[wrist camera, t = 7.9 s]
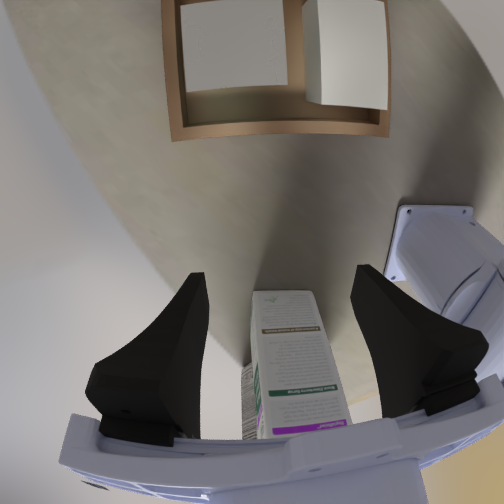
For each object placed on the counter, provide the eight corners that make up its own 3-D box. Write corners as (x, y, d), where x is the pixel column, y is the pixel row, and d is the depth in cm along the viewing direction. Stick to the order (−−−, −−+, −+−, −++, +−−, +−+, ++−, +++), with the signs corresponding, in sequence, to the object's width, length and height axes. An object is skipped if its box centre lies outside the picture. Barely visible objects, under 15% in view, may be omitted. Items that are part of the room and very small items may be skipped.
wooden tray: (370, -3, 12) (385, -11, 10) (373, 130, 18) (388, 137, 16) (170, -7, 12) (160, -17, 10) (179, 135, 18) (171, 141, 16)
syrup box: (251, 289, 26) (260, 446, 14) (314, 288, 26) (356, 434, 14) (249, 331, 29) (256, 467, 17) (305, 329, 29) (332, 459, 17)
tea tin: (269, 24, 14) (282, -2, 9) (272, 86, 16) (287, 84, 11) (198, 29, 14) (180, 5, 9) (203, 91, 16) (186, 92, 11)
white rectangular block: (358, 14, 13) (383, 2, 10) (360, 104, 17) (387, 110, 13) (301, 7, 13) (316, -11, 10) (305, 100, 17) (321, 104, 13)
